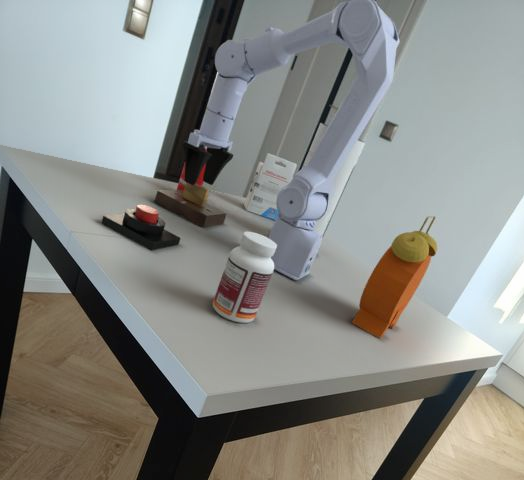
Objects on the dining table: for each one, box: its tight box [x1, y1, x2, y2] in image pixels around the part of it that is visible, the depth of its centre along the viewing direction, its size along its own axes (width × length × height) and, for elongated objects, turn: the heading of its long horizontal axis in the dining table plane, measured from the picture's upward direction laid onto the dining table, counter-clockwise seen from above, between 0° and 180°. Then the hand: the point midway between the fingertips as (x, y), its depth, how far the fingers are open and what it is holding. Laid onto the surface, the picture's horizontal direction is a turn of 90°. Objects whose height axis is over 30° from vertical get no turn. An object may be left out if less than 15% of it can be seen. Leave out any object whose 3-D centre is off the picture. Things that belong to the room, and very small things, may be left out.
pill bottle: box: [212, 231, 277, 324], centre depth 68 cm, size 6×6×11 cm
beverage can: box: [176, 147, 207, 191], centre depth 113 cm, size 5×5×12 cm
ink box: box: [243, 152, 298, 221], centre depth 128 cm, size 8×5×15 cm, turn 99°
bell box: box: [101, 208, 181, 251], centre depth 83 cm, size 10×8×3 cm
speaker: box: [301, 122, 366, 238], centre depth 110 cm, size 11×10×26 cm
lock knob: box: [182, 182, 211, 207], centre depth 104 cm, size 5×1×4 cm, turn 66°
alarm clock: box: [351, 215, 438, 339], centre depth 84 cm, size 13×6×20 cm, turn 150°
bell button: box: [134, 204, 160, 223], centre depth 82 cm, size 4×4×2 cm
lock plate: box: [153, 189, 227, 228], centre depth 105 cm, size 12×9×3 cm
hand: (198, 183), depth 103 cm, fingers open, 7 cm apart
